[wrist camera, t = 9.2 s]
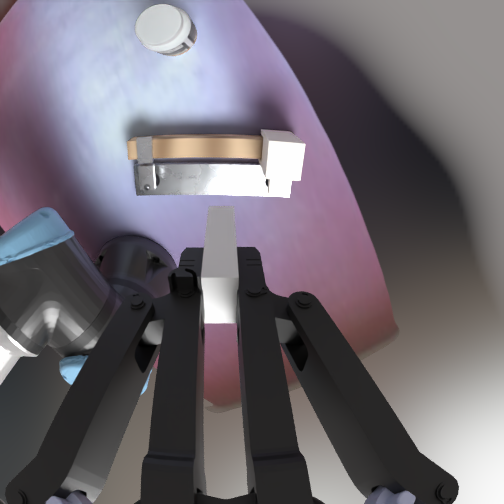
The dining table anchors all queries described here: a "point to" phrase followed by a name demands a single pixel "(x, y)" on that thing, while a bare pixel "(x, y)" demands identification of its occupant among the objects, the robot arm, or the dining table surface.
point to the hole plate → (208, 179)
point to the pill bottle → (166, 30)
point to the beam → (202, 146)
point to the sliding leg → (281, 159)
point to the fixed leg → (146, 156)
